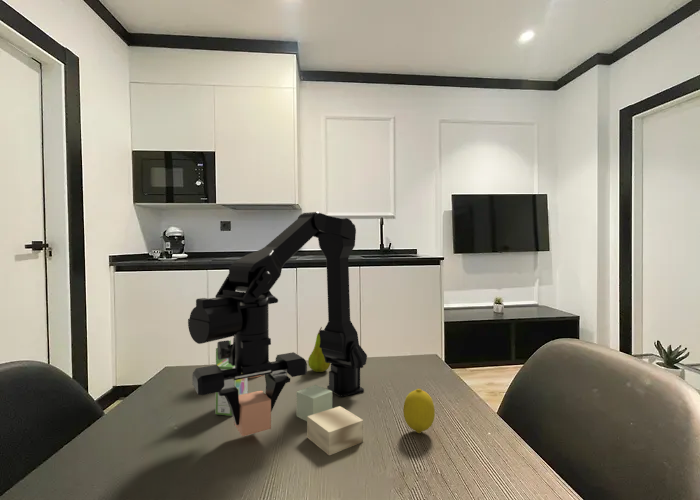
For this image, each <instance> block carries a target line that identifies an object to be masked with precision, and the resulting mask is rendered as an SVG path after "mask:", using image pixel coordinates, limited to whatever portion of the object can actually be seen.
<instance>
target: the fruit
mask: <svg viewBox="0 0 700 500" xmlns="http://www.w3.org/2000/svg"><path fill="white" fill-rule="evenodd" d="M321 330H323V327H322V326H320V329H319V330H318V332H317V334H316V339H315V344H314V347H313V350H312V351H311V353H310V355H309V357H308V360H307V361H308V364H307V365H308V367H309V368H310V369H311V370H312V371H314V372H316V373H323V372H326V371H327V370H328V369H329V368H330V367H331V363H326V362H325V359H324V355H323V353H322V350H321V348H320V347H319V346H320V334H319V333H320V331H321Z"/></svg>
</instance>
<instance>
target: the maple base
mask: <svg viewBox="0 0 700 500" xmlns="http://www.w3.org/2000/svg"><path fill="white" fill-rule="evenodd" d="M306 422H307V423H306V429H307V430H306V431H307V432H306V433H307V434H306V437H307V438H308V440H310V441H311V442H312V443H313V444H314V445H316V446H317V447H318V448H319V449H320V450H322V451H323V452H324V453H326V454H327V455H328V456H331V455H334V454H336V453H339V452H341V451H344V450H347V449H349V448H352V447H354V446H356V445H359V444H362V443H364V420H363V418H360V417H359V416H357V415H356V414H354V413H353V412H351V411H349V410H347V409H345V408H344V407H343V406H340V405H339V406H335V407H332V409H329V410H326V411H323V412H319V413H316V414H313V415H310V416H307V421H306Z"/></svg>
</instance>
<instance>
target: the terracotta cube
mask: <svg viewBox="0 0 700 500" xmlns="http://www.w3.org/2000/svg"><path fill="white" fill-rule="evenodd" d="M265 393H266V392H264V391H263V390H257V391H252V392H248V393H247V394H242V395H239V414H240V419H239V425H236V424H235V421H234V420H233V423H234V426H235V428H236V430H237V431H238V432H239V434H240V436H241V437H245V436H249V435H253V434H257V433H260V432H264V431H268V430H271V429H272V412H271V399H270V398H269V397H268V396H267V395H266V394H265Z"/></svg>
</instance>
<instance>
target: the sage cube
mask: <svg viewBox="0 0 700 500" xmlns="http://www.w3.org/2000/svg"><path fill="white" fill-rule="evenodd" d="M332 408H333V392H332V391H331V390H329V389H328V388H325V387H323V386H320V385H318V384H313V385H310V386H308V387H306V388H302V389H300V390H297V391H296V417H297V418H299V419H301V420H303V421H306V422H307V416H310V415H313V414H316V413H319V412H323V411H326V410H329V409H332Z"/></svg>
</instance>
